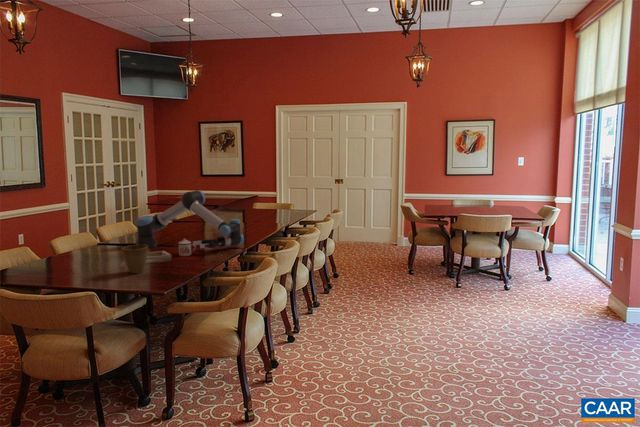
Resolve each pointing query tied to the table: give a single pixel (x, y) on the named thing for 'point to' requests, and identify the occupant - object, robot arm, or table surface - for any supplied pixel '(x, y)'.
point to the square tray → (158, 257)
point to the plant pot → (135, 257)
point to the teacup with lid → (185, 248)
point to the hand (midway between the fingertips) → (196, 244)
